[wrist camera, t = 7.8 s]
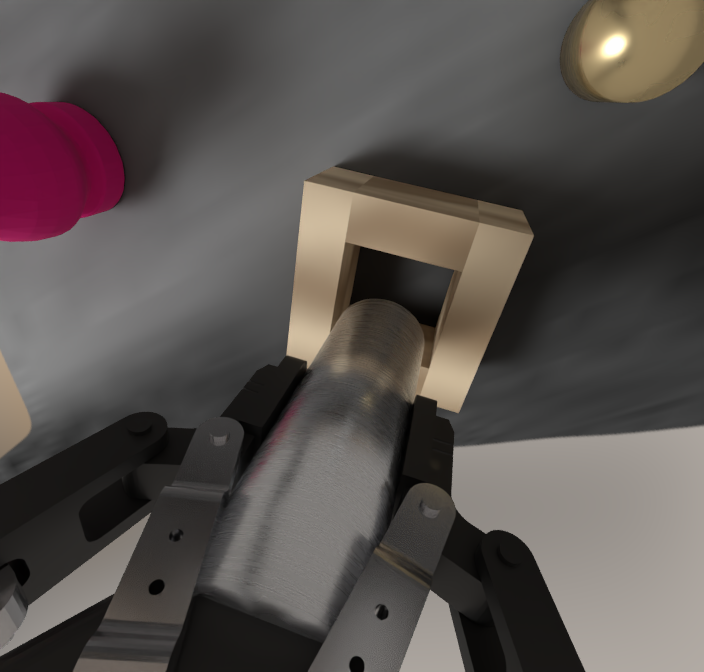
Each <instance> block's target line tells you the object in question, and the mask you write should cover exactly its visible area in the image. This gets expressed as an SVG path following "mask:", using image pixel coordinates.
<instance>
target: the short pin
mask: <svg viewBox="0 0 704 672" xmlns="http://www.w3.org/2000/svg"><path fill="white" fill-rule="evenodd" d="M703 62H704V0H589V1H588V2H587V3H586V4H585V5H584V6H583V7H582V8H581V9H580V11H579V12H578V13H577V14H576V16H575V17H574V19H573V20H572V22H571V23H570V25H569V27H568V29H567V31H566V34H565V36H564V39H563V42H562V46H561V52H560V68H561V73H562V76H563V79H564V81H565V83H566V85H567V86H568V88H569V89H570V90H571V91H572V92H573V93H574V94H575V95H577V96H578V97H580V98H582V99H584V100H588V101H593V102H625V103H628V102H641V101H646V100H650V99H653V98H656V97H658V96H661V95H663V94H665V93H667V92H669V91H671V90H672V89H674V88H675V87H677V86H678V85H680V84H681V83H682V82H684V81H685V80H686V79H688V78H689V77H690V76H691V75H692V74H693V73H694V72H695V71H696V70H697V69H698V68H699V67H700V65H701V64H702V63H703Z"/></svg>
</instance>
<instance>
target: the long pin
mask: <svg viewBox="0 0 704 672" xmlns="http://www.w3.org/2000/svg"><path fill="white" fill-rule="evenodd" d="M424 343H425V342H424V334H423V331H422V328H421V326H420V324H419V322H418V321H417V319H416V318H415V317H414V316H413V315H412V314H411V313H410V312H409V311H408V310H407V309H406V308H404V307H402V306H401V305H399V304H397V303H395V302H392V301H389V300H384V299H366V300H362V301H359V302H357V303H354V304H353V305H351V306H349V307H348V308H347V309H346V310H345V311H344V312H343V313H342V314H341V316H340V318H339V319H338V321H337V322H336V324H335V326H334V327H333V329H332V331H331V332H330V334H329V335H328V337H327V339H326V340H325V342H324V344H323V345H322V347H321V348H320V350H319V352H318V353H317V355H316V357H315V358H314V360H313V361H312V363H311V365H310V366H309V368H308V369H307V371H306V373H305V374H304V376H303V378H302V379H301V381H300V382H299V384H298V386H297V387H296V389H295V391H294V392H293V394H292V395H291V397H290V399H289V400H288V402H287V404H286V405H285V407H284V408H283V410H282V412H281V413H280V415H279V417H278V418H277V420H276V421H275V423H274V425H273V426H272V428H271V430H270V431H269V433H268V434H267V436H266V438H265V439H264V441H263V443H262V444H261V446H260V447H259V449H258V451H257V452H256V454H255V456H254V457H253V459H252V460H251V462H250V464H249V465H248V467H247V469H246V470H245V472H244V473H243V475H242V477H241V478H240V480H239V482H238V483H237V485H236V486H235V488H234V490H233V491H232V493H231V495H230V496H229V499H228V501H227V504H226V506H225V509H224V511H223V514H222V516H221V519H220V522H219V524H218V527H217V530H216V533H215V535H214V538H213V541H212V544H211V547H210V549H209V552H208V555H207V558H206V561H205V564H204V567H203V570H202V573H201V576H200V579H199V582H198V595H200V596H203V597H205V598H208V599H210V600H213V601H215V602H218V603H221V604H223V605H226V606H228V607H231V608H233V609H236V610H239V611H241V612H244V613H246V614H249V615H251V616H254V617H256V618H259V619H262V620H264V621H267V622H269V623H272V624H274V625H277V626H280V627H282V628H285V629H287V630H290V631H292V632H295V633H297V634H300V635H303V636H305V637H308V638H310V639H313V640H315V641H318V642H320V643H324V641H325V639H326V637H327V636H328V634H329V632H330V630H331V628H332V626H333V625H334V623H335V621H336V619H337V617H338V615H339V614H340V612H341V610H342V608H343V606H344V604H345V603H346V601H347V599H348V597H349V595H350V594H351V592H352V590H353V588H354V586H355V584H356V583H357V581H358V579H359V577H360V575H361V573H362V572H363V570H364V568H365V566H366V564H367V562H368V561H369V559H370V557H371V555H372V553H373V552H374V550H375V548H376V547H377V545H379V544H380V543H381V541H382V539H383V537H384V535H385V534H386V532H387V530H388V528H389V526H390V524H391V519H392V514H393V509H394V504H395V498H396V489H397V484H398V479H399V474H400V468H401V463H402V458H403V453H404V448H405V442H406V437H407V432H408V427H409V422H410V416H411V411H412V406H413V402H414V399H415V393H416V388H417V383H418V377H419V372H420V367H421V362H422V356H423V351H424Z"/></svg>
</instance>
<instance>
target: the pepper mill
mask: <svg viewBox="0 0 704 672" xmlns="http://www.w3.org/2000/svg"><path fill="white" fill-rule="evenodd" d="M124 180H125V176H124V169H123V163H122V160H121V157H120V154H119V152H118V149H117V146H116V145H115V143H114V141H113V140H112V138H111V136H110V135H109V133H108V132H107V130H106V129H105V128H104V127H103V126H102V125H101V124H100V123H99V122H98V120H97V119H96V118H95V117H93V116H92V115H91V114H89V113H88V112H86V111H85V110H83V109H82V108H80V107H78V106H76V105H73V104H70V103H65V102H33V103H29V104H28V103H27V102H25V101H23V100H21V99H19V98H16V97H14V96H11V95H8V94H5V93H0V240H1V241H9V242H15V241H38V240H42V239H46V238H51V237H55V236H58V235H61V234H63V233H65V232H67V231H68V230H70V229H71V228H72V227H73V226H74V225H75V224H76V223H77V221H78V220H79V219H80V218H83V217H88V216H91V215H94V214H98V213H101V212H104V211H107V210H109V209H111V208H113V207H114V206H115V205H116V204H117V202H118V201H119V200H120V197H121V195H122V193H123V190H124Z"/></svg>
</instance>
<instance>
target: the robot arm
mask: <svg viewBox="0 0 704 672" xmlns="http://www.w3.org/2000/svg"><path fill="white" fill-rule="evenodd" d="M306 370H307V361H305V360H302V359H299V358H295V357H292V356H289V355H287V356H285V358H284V359H283V360H282V362H281V363H280V364H279V366H278V367H276V366H273V365H269V364H268V365H267V366H265V367H263V368H261V369H259V370H257V371H256V372H255V374H254V375H253V376H252V377H251V379H250V380H249V382H247V384H246V385H245V386H244V387H243V390H241V391H240V392H239V394H238V395H237V396H236V397H235V399H234V400H233V401H232V402H231V404H230V405H229V406H228V407H227V409H226V410H225V411H224V412H223V414H222V415H221V416H220V417H216V418H211V419H209V420H206V421H205V422H203V423H202V424H200V425H199V426H198V428H194V429H186V428H167V422H166V420H165V418H163V417H162V416H161V415H159V414H157V413H153V412H139V413H135V414H132V415H129V416H127V417H125V418H123V419H121V420H119V421H118V422H116V423H114V424H112V425H110V426H108V427H106V428H105V429H103V430H101V431H99V432H97V433H95V434H93V435H92V436H90V437H88V438H86V439H84V440H82V441H80V442H79V443H77V444H75V445H73V446H71V447H69V448H67V449H66V450H64V451H62V452H60V453H58V454H56V455H54V456H53V457H51V458H49V459H47V460H45V461H43V462H41V463H40V464H38V465H36V466H34V467H32V468H30V469H28V470H27V471H25V472H23V473H21V474H19V475H17V476H15V477H14V478H12V479H10V480H8V481H6V482H4V483H2V484H1V485H0V649H1V648H3V647H4V646H6V645H7V644H8V643H9V642H10V641H11V639H12V638H13V636H14V633H15V632H16V631H17V630H18V628H19V627H20V626H21V624H22V622H23V620H24V619H25V617H26V614H27V610H28V605H30V604H31V603H32V602H34V601H35V600H36V599H38V598H39V597H40V596H42V595H43V594H44V593H46V592H47V591H48V590H50V589H51V588H52V587H53V586H55V585H56V584H57V583H59V582H60V581H61V580H63V579H64V578H65V577H66V576H68V575H69V574H70V573H72V572H73V571H74V570H76V569H77V568H78V567H79V566H81V565H82V564H83V563H85V562H86V561H88V560H89V559H90V558H92V557H93V556H94V555H95V554H97V553H98V552H99V551H101V550H102V549H103V548H104V547H106V546H107V545H109V544H110V543H111V542H113V541H114V540H115V539H117V538H118V537H119V536H120V535H121V534H123V533H124V532H126V531H127V530H128V529H130V528H131V527H132V526H134V525H135V524H136V523H138V522H139V521H140V520H141V519H142V518H144V517H145V516H147V515H148V514H149V513H151V514H150V517H149V519H148V521H147V523H146V525H145V528H144V530H143V532H142V535H141V537H140V539H139V541H138V543H137V545H136V548H135V550H134V552H133V554H132V556H131V559H130V561H129V563H128V566H127V568H126V570H125V572H124V574H123V576H122V578H121V581H120V583H119V586H118V587H117V590H116V592H115V594H113V595H111V596H109V597H107V598H106V599H104V600H102V601H100V602H98V603H97V604H95V605H93V606H91V607H89V608H87V609H86V610H84V611H82V612H80V613H78V614H77V615H75V616H73V617H71V618H69V619H67V620H66V621H64V622H62V623H60V624H59V625H57V626H55V627H53V628H51V629H49V630H48V631H46V632H44V633H42V634H40V635H39V636H37V637H35V638H33V639H31V640H29V641H28V642H26V643H24V644H22V645H20V646H19V647H17V648H15V649H13V650H11V651H9V652H8V653H6V654H4V655H2V656H0V672H399V670H400V668H401V665H402V662H403V660H404V657H405V654H406V652H407V649H408V646H409V644H410V641H411V638H412V636H413V633H414V630H415V627H416V625H417V622H418V620H419V617H420V615H421V611H422V609H423V607H424V604H425V601H426V598H427V596H428V593H429V591H430V590H431V591H433V592H434V593H436V594H437V595H438V596H439V597H441V598H442V599H443V600H445V601H446V602H447V603H449V608H450V612H451V616H452V620H453V624H454V628H455V632H456V636H457V639H458V644H459V648H460V652H461V656H462V660H463V664H464V668H465V672H585V670H584V668H583V666H582V663H581V661H580V659H579V657H578V654H577V652H576V650H575V648H574V645H573V643H572V641H571V639H570V637H569V634H568V632H567V630H566V628H565V625H564V623H563V621H562V619H561V617H560V614H559V612H558V610H557V608H556V605H555V603H554V601H553V599H552V596H551V594H550V592H549V590H548V587H547V585H546V583H545V581H544V579H543V576H542V574H541V572H540V570H539V567H538V565H537V563H536V561H535V559H534V556H533V555H532V553H531V551H530V550H529V548H528V547H527V546H526V545H525V543H523V542H522V541H521V540H520V539H519V538H518V537H516V536H515V535H513V534H511V533H509V532H506V531H501V530H493V531H490V532H488V533H487V534H485V533H484V532H482V531H481V530H479V529H478V528H476V527H475V526H473V525H471V524H470V523H469V522H467V521H466V520H465V519H464V518H463V517H462V516H461V515H460V514H459V513H458V511H457V510H456V508H455V505H454V502H453V500H452V498H451V486H452V467H453V445H454V431H453V428H452V426H451V424H450V422H449V420H448V419H445V418H441V417H438V416H436V410H437V400H433V399H430V398H427V397H424V396H420V395H416V397H415V399H414V402H413V406H412V411H411V416H410V422H409V427H408V432H407V437H406V442H405V448H404V453H403V458H402V463H401V468H400V474H399V479H398V484H397V489H396V498H395V504H394V509H393V514H392V519H391V524H390V526H389V528H388V530H387V532H386V534H385V535H384V537H383V539H382V541H381V543H380V544H379V545H377V547H376V548H375V550H374V552H373V553H372V555H371V557H370V559H369V561H368V562H367V564H366V566H365V568H364V570H363V572H362V573H361V575H360V577H359V579H358V581H357V583H356V584H355V586H354V588H353V590H352V592H351V594H350V595H349V597H348V599H347V601H346V603H345V604H344V606H343V608H342V610H341V612H340V614H339V615H338V617H337V619H336V621H335V623H334V625H333V626H332V628H331V630H330V632H329V634H328V636H327V637H326V639H325V641H324V643H320V642H318V641H315V640H313V639H310V638H308V637H305V636H303V635H300V634H297V633H295V632H292V631H290V630H287V629H285V628H282V627H280V626H277V625H274V624H272V623H269V622H267V621H264V620H262V619H259V618H256V617H254V616H251V615H249V614H246V613H244V612H241V611H239V610H236V609H233V608H231V607H228V606H226V605H223V604H221V603H218V602H215V601H213V600H210V599H208V598H205V597H203V596H200V595H198V582H199V579H200V576H201V573H202V570H203V567H204V564H205V561H206V558H207V555H208V552H209V549H210V547H211V544H212V541H213V538H214V535H215V533H216V530H217V527H218V524H219V522H220V519H221V516H222V514H223V511H224V509H225V506H226V504H227V501H228V499H229V496H230V495H231V493H232V491H233V490H234V488H235V486H236V485H237V483H238V482H239V480H240V478H241V477H242V475H243V473H244V472H245V470H246V469H247V467H248V465H249V464H250V462H251V460H252V459H253V457H254V456H255V454H256V452H257V451H258V449H259V447H260V446H261V444H262V443H263V441H264V439H265V438H266V436H267V434H268V433H269V431H270V430H271V428H272V426H273V425H274V423H275V421H276V420H277V418H278V417H279V415H280V413H281V412H282V410H283V408H284V407H285V405H286V404H287V402H288V400H289V399H290V397H291V395H292V394H293V392H294V391H295V389H296V387H297V386H298V384H299V382H300V381H301V379H302V378H303V376H304V374H305V373H306Z"/></svg>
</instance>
